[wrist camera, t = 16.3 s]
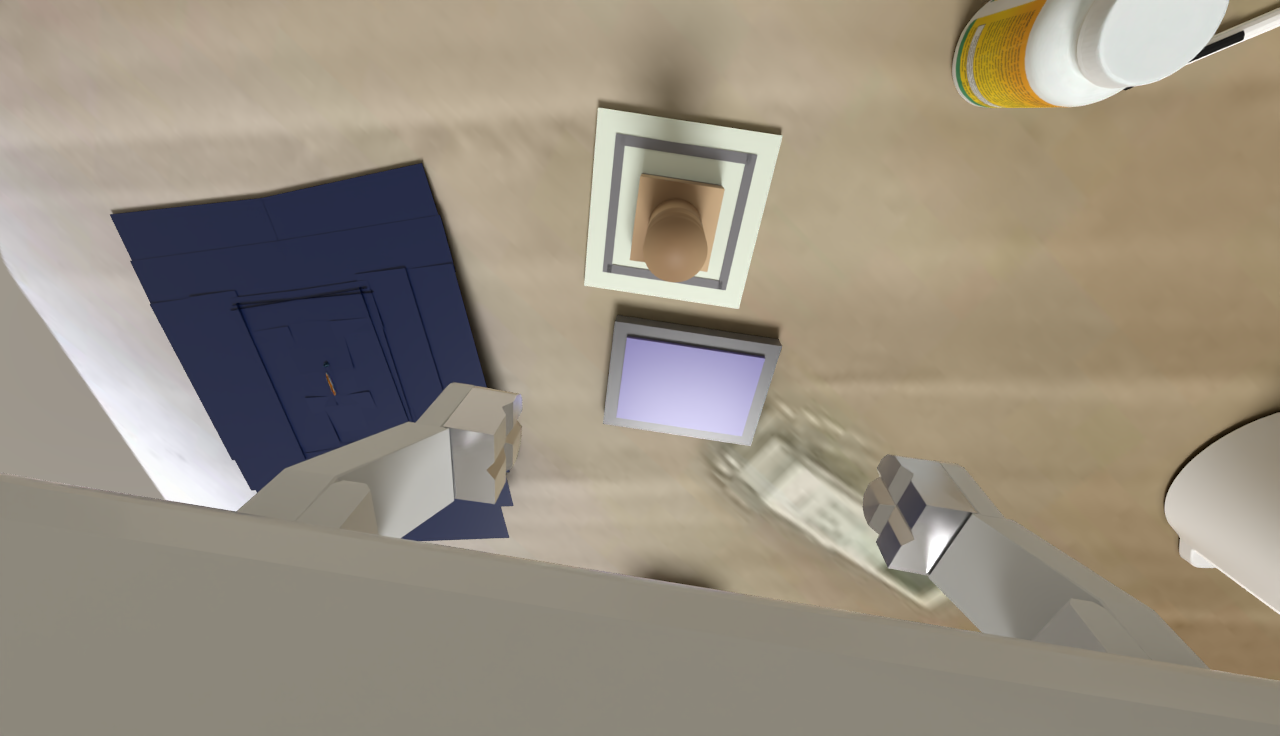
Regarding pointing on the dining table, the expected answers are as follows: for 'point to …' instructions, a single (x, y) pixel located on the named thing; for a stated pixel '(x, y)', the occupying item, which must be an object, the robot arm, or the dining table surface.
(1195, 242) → the dining table surface
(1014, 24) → the supplement bottle
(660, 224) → the stamp
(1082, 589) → the robot arm
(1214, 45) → the pen
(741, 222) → the print card
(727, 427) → the ink pad
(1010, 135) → the dining table surface
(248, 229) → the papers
